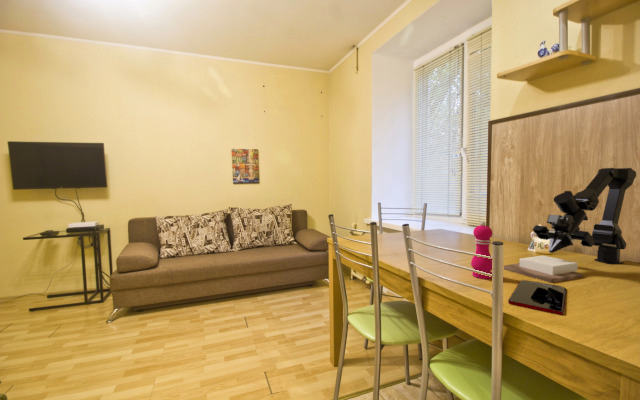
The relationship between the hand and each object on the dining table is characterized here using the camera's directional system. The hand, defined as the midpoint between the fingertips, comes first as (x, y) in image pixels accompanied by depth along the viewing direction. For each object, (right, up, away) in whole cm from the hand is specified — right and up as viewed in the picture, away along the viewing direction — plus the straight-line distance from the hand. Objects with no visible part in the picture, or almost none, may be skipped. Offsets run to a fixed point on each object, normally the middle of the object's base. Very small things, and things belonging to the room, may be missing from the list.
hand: (550, 252), depth 112 cm
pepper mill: (-28, -8, -5) cm, 29 cm away
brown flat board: (-5, -7, -1) cm, 9 cm away
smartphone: (-21, -10, -23) cm, 33 cm away
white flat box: (+5, -4, +2) cm, 7 cm away
